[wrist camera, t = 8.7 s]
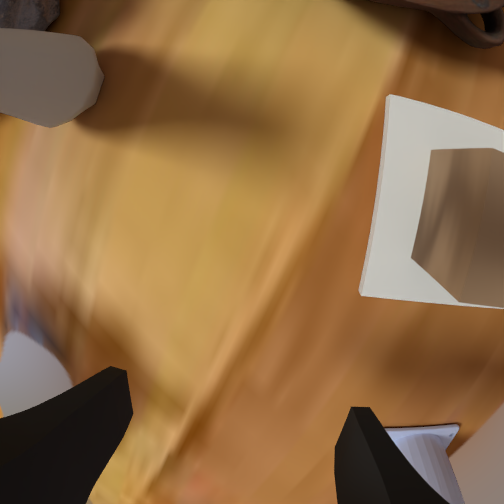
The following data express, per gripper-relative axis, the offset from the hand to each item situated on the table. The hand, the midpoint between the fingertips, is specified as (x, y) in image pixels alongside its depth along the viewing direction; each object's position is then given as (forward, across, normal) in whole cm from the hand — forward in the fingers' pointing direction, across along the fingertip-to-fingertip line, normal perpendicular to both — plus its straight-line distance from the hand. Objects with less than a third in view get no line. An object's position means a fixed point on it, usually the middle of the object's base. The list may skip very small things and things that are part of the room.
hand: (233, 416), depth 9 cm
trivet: (+10, -11, -6) cm, 16 cm away
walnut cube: (+9, -11, -6) cm, 16 cm away
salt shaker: (+10, +13, -12) cm, 20 cm away
